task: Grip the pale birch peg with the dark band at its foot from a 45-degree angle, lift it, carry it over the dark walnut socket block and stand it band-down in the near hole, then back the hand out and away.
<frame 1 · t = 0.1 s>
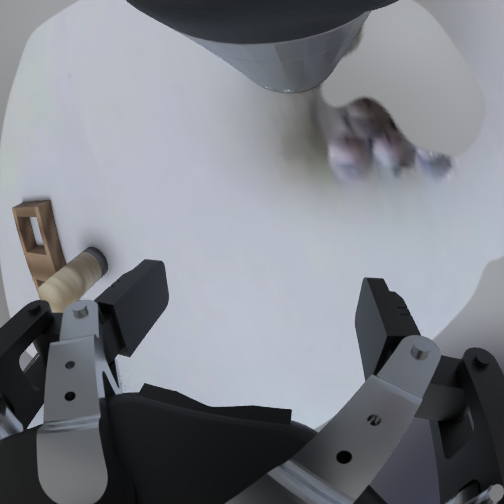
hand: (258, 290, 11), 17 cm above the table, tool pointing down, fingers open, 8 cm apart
banded peg: (95, 261, 35), on the table
socket block: (50, 260, 37), on the table
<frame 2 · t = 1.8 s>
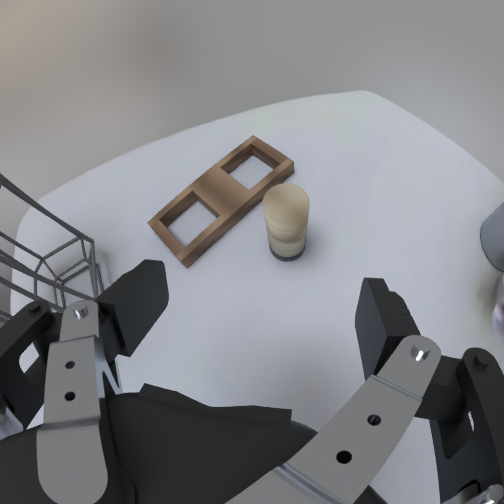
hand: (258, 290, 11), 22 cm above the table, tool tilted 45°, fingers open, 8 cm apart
banded peg: (287, 244, 35), on the table
socket block: (223, 200, 39), on the table
geometric lantern: (80, 291, 37), on the table
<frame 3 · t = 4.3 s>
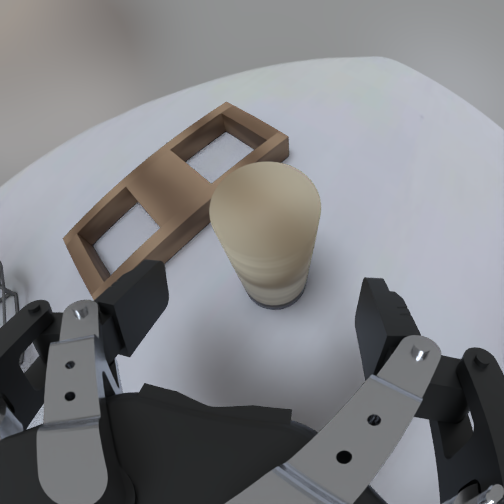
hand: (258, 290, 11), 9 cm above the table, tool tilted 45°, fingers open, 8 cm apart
banded peg: (275, 279, 20), on the table
socket block: (175, 201, 24), on the table
geometric lantern: (1, 327, 21), on the table
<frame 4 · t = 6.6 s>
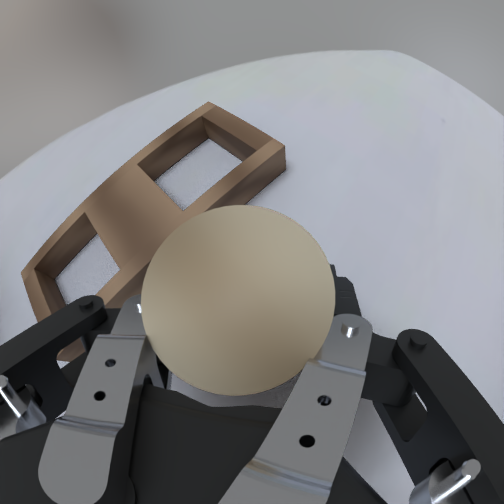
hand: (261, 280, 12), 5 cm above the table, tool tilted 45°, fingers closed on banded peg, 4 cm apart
banded peg: (264, 337, 15), on the table, touching gripper
socket block: (144, 228, 19), on the table
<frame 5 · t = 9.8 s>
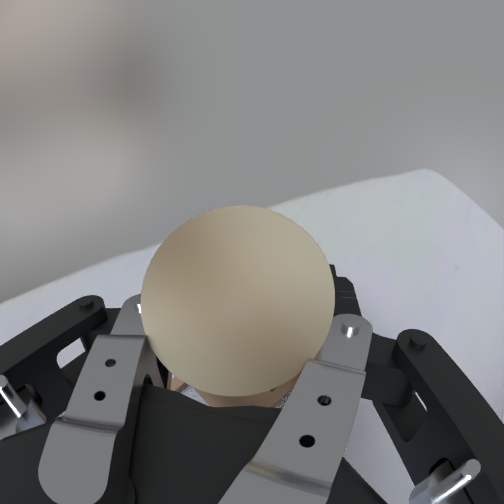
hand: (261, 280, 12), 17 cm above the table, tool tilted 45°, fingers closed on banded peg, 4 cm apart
banded peg: (264, 337, 15), point 12 cm above the table, touching gripper
socket block: (233, 385, 25), on the table
when the fingers open (6 cm above the table, at t = 13.0 s): banded peg drops 1 cm, resting in socket block.
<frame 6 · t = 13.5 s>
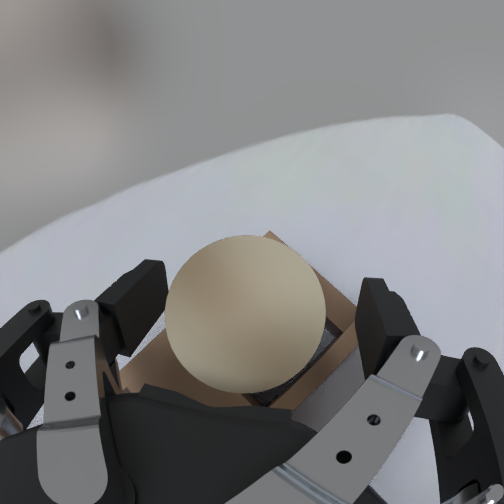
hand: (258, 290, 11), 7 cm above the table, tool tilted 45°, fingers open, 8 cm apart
banded peg: (266, 340, 17), resting in socket block
socket block: (201, 398, 16), on the table
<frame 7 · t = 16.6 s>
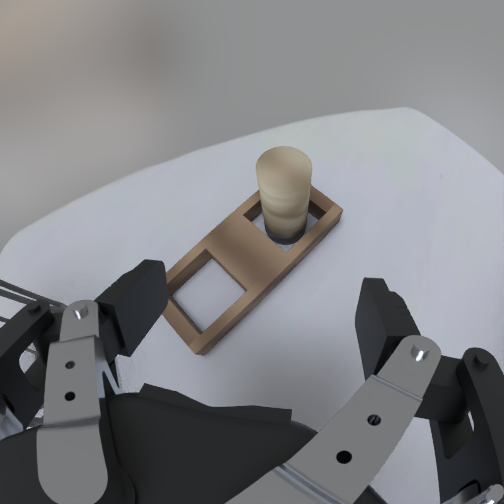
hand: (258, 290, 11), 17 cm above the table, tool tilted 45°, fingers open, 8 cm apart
banded peg: (285, 225, 30), resting in socket block
socket block: (248, 259, 29), on the table
geometric lantern: (68, 365, 27), on the table
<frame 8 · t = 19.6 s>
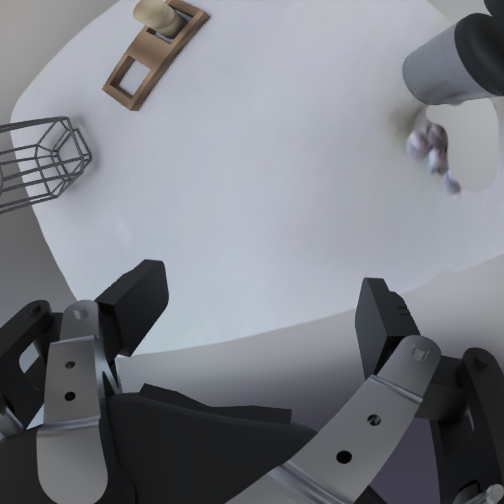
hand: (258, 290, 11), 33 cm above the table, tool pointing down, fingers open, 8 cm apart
banded peg: (175, 28, 34), resting in socket block
socket block: (155, 52, 36), on the table
geometric lantern: (71, 151, 45), on the table
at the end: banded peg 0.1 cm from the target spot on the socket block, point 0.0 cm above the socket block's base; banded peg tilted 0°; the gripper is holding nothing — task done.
